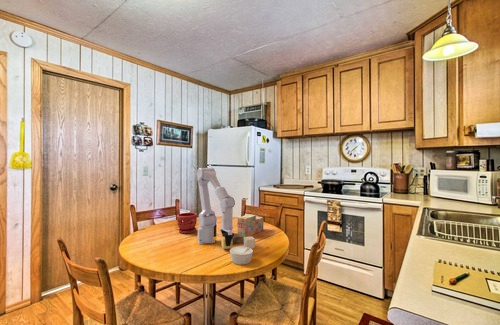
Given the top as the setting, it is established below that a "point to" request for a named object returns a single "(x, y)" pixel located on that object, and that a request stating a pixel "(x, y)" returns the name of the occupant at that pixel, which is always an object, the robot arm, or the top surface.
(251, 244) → the off-white block
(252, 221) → the stack of blocks
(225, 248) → the ochre block
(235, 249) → the ramekin
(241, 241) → the walnut base block
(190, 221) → the plant pot
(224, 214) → the robot arm
